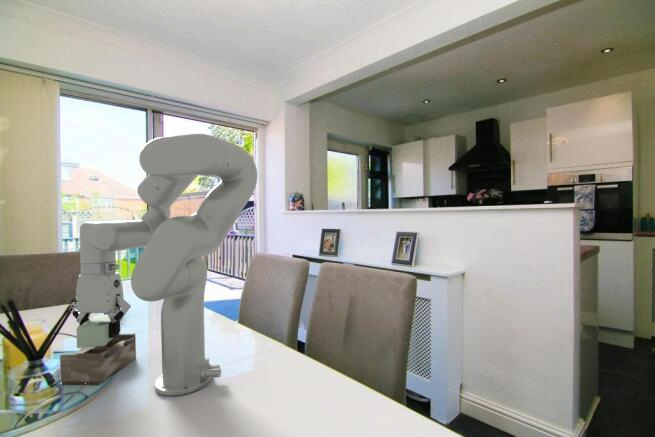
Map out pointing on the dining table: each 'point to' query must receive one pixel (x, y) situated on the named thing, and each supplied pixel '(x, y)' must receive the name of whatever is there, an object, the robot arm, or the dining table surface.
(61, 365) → the brown wooden box
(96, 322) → the grey-green block
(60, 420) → the dining table surface
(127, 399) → the dining table surface
